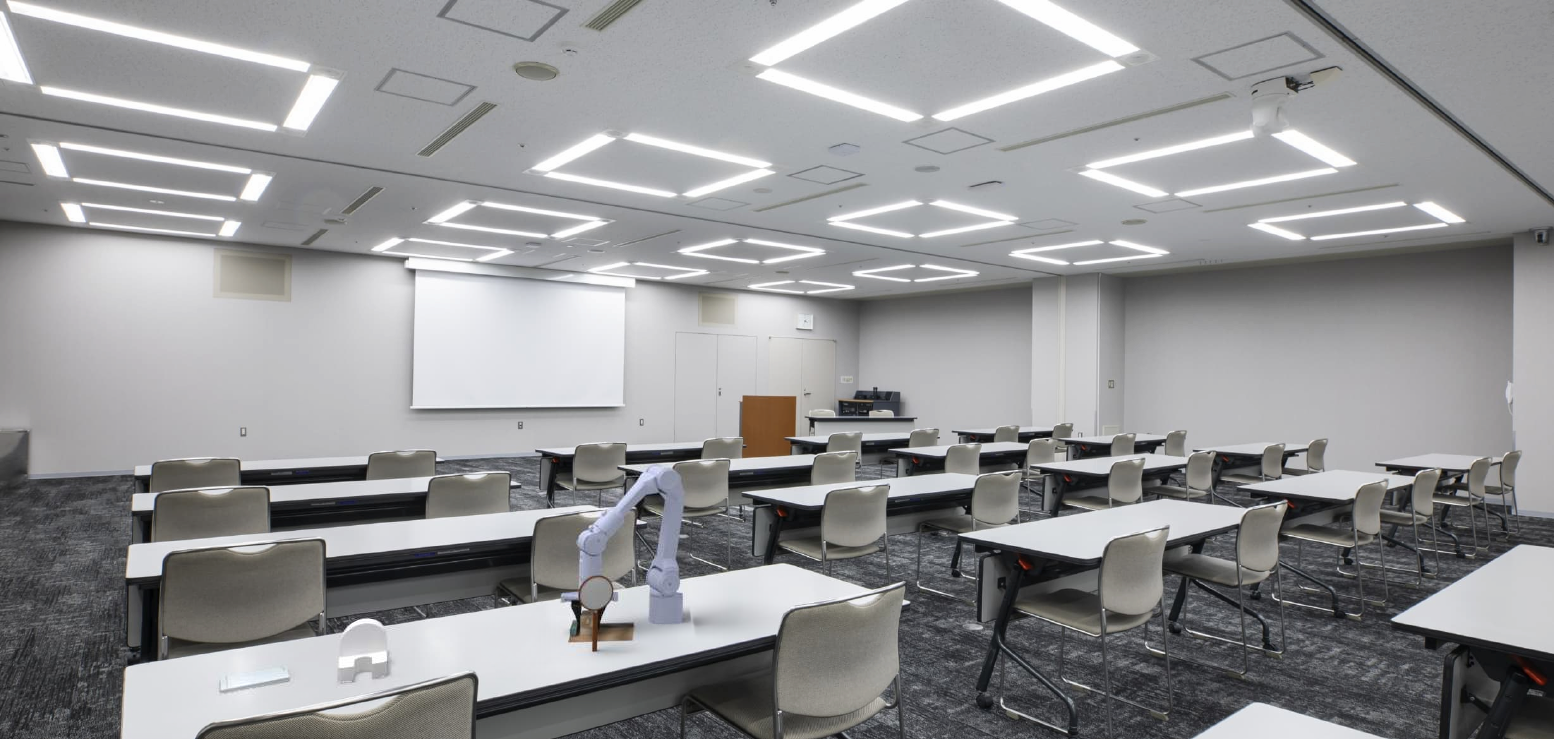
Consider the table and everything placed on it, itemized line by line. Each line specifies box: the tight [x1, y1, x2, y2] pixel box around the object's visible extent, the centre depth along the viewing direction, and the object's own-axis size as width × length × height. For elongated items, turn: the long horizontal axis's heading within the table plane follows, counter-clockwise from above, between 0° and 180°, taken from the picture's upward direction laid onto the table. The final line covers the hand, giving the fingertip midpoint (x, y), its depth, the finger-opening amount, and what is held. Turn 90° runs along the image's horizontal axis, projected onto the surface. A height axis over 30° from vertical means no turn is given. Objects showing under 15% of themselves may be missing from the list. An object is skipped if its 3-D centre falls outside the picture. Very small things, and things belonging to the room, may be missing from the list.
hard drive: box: [219, 665, 291, 694], centre depth 169 cm, size 2×8×12 cm
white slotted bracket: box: [337, 618, 388, 682], centre depth 179 cm, size 10×18×11 cm, turn 28°
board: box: [567, 619, 635, 643], centre depth 200 cm, size 16×11×4 cm
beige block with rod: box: [580, 609, 594, 636], centre depth 200 cm, size 4×10×5 cm, turn 9°
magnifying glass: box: [577, 574, 614, 653], centre depth 188 cm, size 9×2×20 cm, turn 117°
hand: (589, 628), depth 201 cm, fingers closed on beige block with rod, 4 cm apart
